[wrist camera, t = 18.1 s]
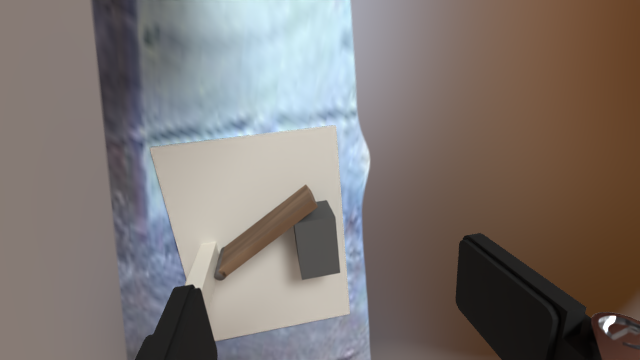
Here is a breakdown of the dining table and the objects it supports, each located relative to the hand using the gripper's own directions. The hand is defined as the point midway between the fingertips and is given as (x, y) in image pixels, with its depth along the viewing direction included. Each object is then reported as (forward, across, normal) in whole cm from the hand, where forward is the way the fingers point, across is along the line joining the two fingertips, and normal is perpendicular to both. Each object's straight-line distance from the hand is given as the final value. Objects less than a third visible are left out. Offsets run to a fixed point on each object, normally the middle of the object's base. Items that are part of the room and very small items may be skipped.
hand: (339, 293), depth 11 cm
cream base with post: (+30, +5, +14) cm, 34 cm away
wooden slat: (+29, +4, +10) cm, 31 cm away
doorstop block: (+29, -2, +13) cm, 32 cm away
